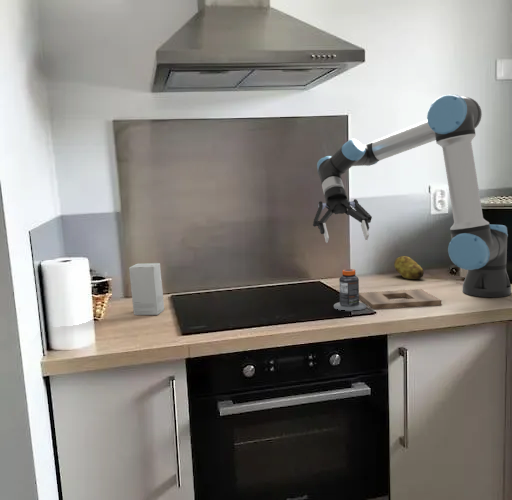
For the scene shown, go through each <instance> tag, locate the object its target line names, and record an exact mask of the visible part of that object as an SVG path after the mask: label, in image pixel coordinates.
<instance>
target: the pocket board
mask: <svg viewBox="0 0 512 500" xmlns="http://www.w3.org/2000/svg"><path fill="white" fill-rule="evenodd" d="M398 298H400V299H398ZM401 298H403V299H401ZM359 300H361V301H362V303H364V304H366V306H368V307H370V309H371V310H379V309H383V310H384V309H396V308H398V309H399V308H409V307H410V308H412V307H414V308H415V307H426V306H427V307H428V306H429V307H431V306H441V305H442V299H440V298H438V297H437V296H434V295H433V294H431V293H429V292H428V291H426V290H424V289H421V288H417V289H416V288H415V289H401V290H399V289H398V290H384V291H370V292H367V291H366V292H365V291H364V292H359Z"/></svg>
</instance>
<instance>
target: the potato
mask: <svg viewBox="0 0 512 500" xmlns="http://www.w3.org/2000/svg"><path fill="white" fill-rule="evenodd" d="M393 266H394V269H395V271H396V273H399V274H400V275H401V277H402V278H404V279H407V280H419V279H422V278H423V277H424V274H425V273H424V269H423V267H421V265H420V264H418V262H417V261H415V260H414V259H413V258H411V257H409V256H406V255H401V256H399V257H397V258H395V260H394V262H393Z"/></svg>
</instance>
